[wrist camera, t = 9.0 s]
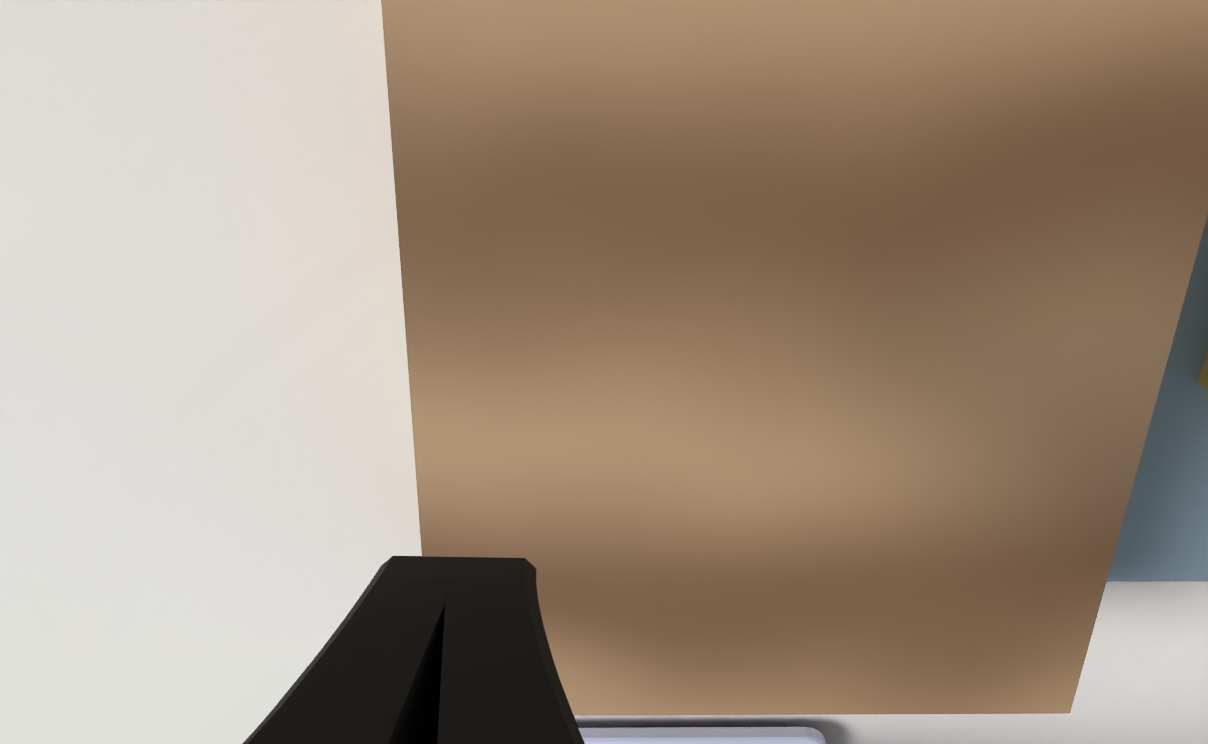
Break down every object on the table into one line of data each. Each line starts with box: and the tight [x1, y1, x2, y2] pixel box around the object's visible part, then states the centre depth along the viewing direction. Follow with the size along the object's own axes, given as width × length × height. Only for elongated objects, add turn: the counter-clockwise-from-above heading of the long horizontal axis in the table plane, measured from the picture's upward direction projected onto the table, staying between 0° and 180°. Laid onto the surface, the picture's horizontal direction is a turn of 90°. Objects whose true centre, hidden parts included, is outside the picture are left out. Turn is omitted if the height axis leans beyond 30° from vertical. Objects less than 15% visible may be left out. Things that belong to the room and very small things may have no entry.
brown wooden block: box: [381, 0, 1208, 715], centre depth 16 cm, size 18×11×4 cm, turn 179°
